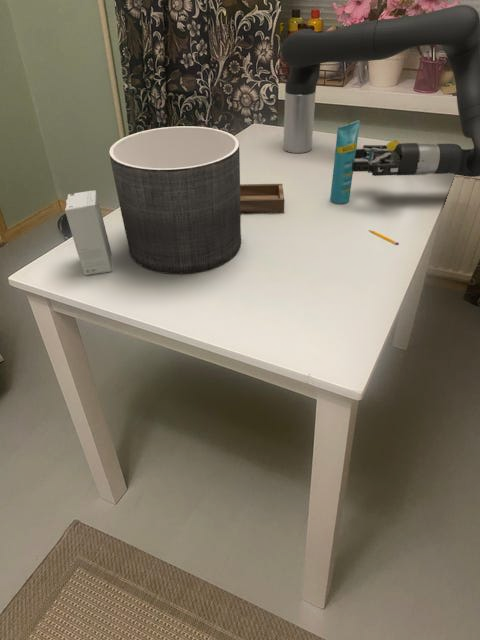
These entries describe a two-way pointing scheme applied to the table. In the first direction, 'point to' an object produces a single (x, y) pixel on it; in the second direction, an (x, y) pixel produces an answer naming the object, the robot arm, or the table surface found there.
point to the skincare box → (89, 232)
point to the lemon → (392, 145)
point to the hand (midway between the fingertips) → (349, 160)
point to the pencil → (384, 237)
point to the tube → (344, 162)
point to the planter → (179, 197)
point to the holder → (261, 198)
